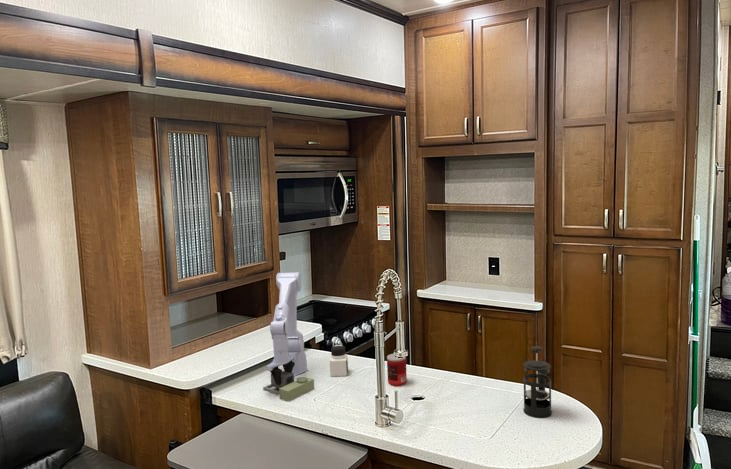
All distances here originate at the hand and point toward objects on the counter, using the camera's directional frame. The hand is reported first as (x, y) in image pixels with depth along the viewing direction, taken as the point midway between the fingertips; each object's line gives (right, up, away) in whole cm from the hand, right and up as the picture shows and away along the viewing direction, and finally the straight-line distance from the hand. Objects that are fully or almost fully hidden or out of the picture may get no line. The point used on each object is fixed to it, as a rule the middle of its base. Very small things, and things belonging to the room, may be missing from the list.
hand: (283, 382), depth 211 cm
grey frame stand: (+2, -3, -1) cm, 3 cm away
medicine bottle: (+22, -1, +15) cm, 26 cm away
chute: (0, -1, 0) cm, 2 cm away
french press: (+93, -2, -29) cm, 98 cm away
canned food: (+46, -1, +2) cm, 46 cm away
